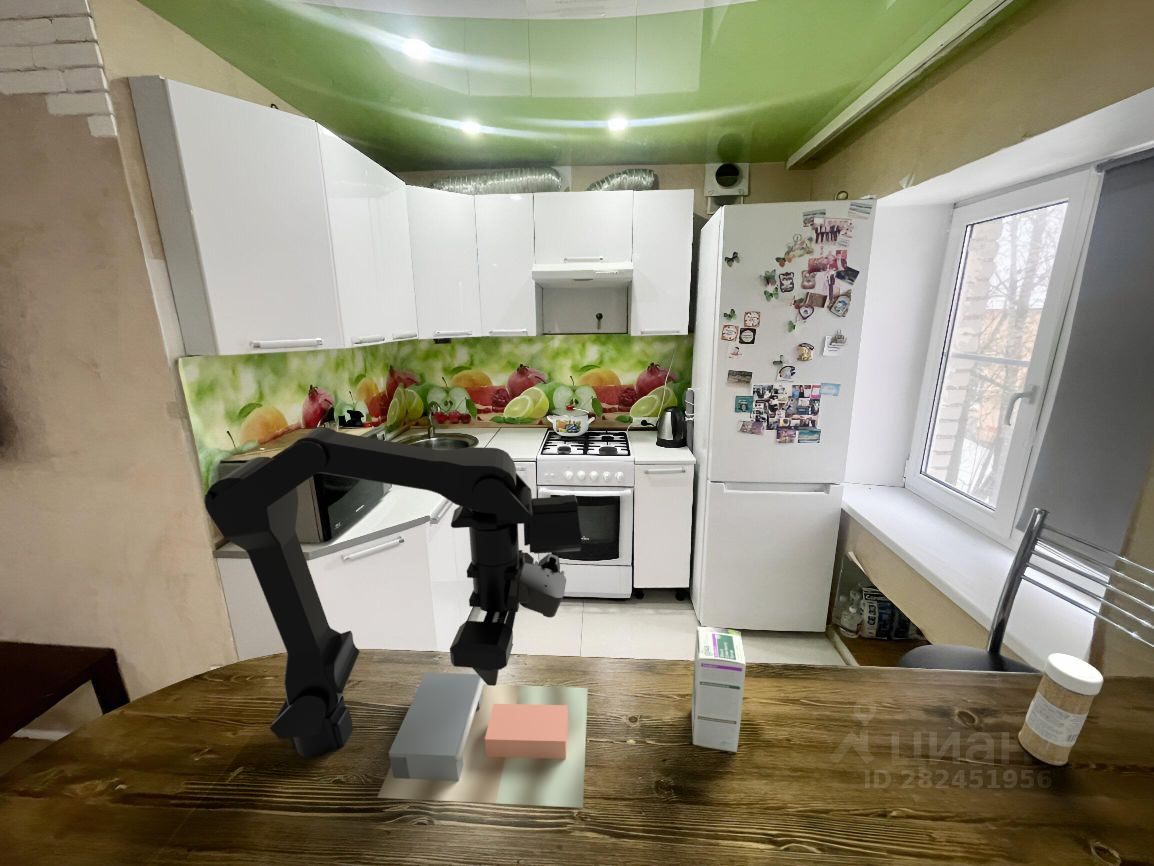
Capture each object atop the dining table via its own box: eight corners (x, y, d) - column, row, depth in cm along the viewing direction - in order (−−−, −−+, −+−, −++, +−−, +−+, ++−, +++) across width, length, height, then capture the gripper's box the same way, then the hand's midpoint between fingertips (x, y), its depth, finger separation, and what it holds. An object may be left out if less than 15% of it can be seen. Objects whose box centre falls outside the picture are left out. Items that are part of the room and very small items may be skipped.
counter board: (378, 803, 53) (377, 797, 53) (428, 687, 68) (427, 682, 68) (583, 813, 51) (582, 807, 51) (587, 693, 67) (587, 687, 66)
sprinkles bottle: (1040, 731, 60) (1073, 650, 56) (1078, 766, 55) (1117, 681, 51) (1006, 733, 60) (1037, 652, 55) (1041, 768, 55) (1078, 683, 51)
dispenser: (393, 778, 55) (388, 752, 53) (429, 695, 66) (425, 672, 64) (464, 781, 54) (460, 755, 53) (488, 697, 65) (485, 674, 64)
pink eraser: (486, 756, 57) (484, 739, 56) (495, 720, 62) (493, 703, 61) (565, 758, 56) (565, 741, 56) (568, 722, 61) (567, 705, 60)
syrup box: (738, 754, 58) (749, 664, 53) (690, 745, 59) (697, 657, 54) (732, 714, 63) (742, 629, 58) (689, 707, 64) (695, 624, 60)
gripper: (550, 608, 45) (552, 725, 50) (568, 518, 63) (568, 610, 68) (442, 602, 46) (454, 717, 51) (490, 514, 64) (495, 606, 69)
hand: (500, 655), depth 60 cm, fingers open, 9 cm apart
